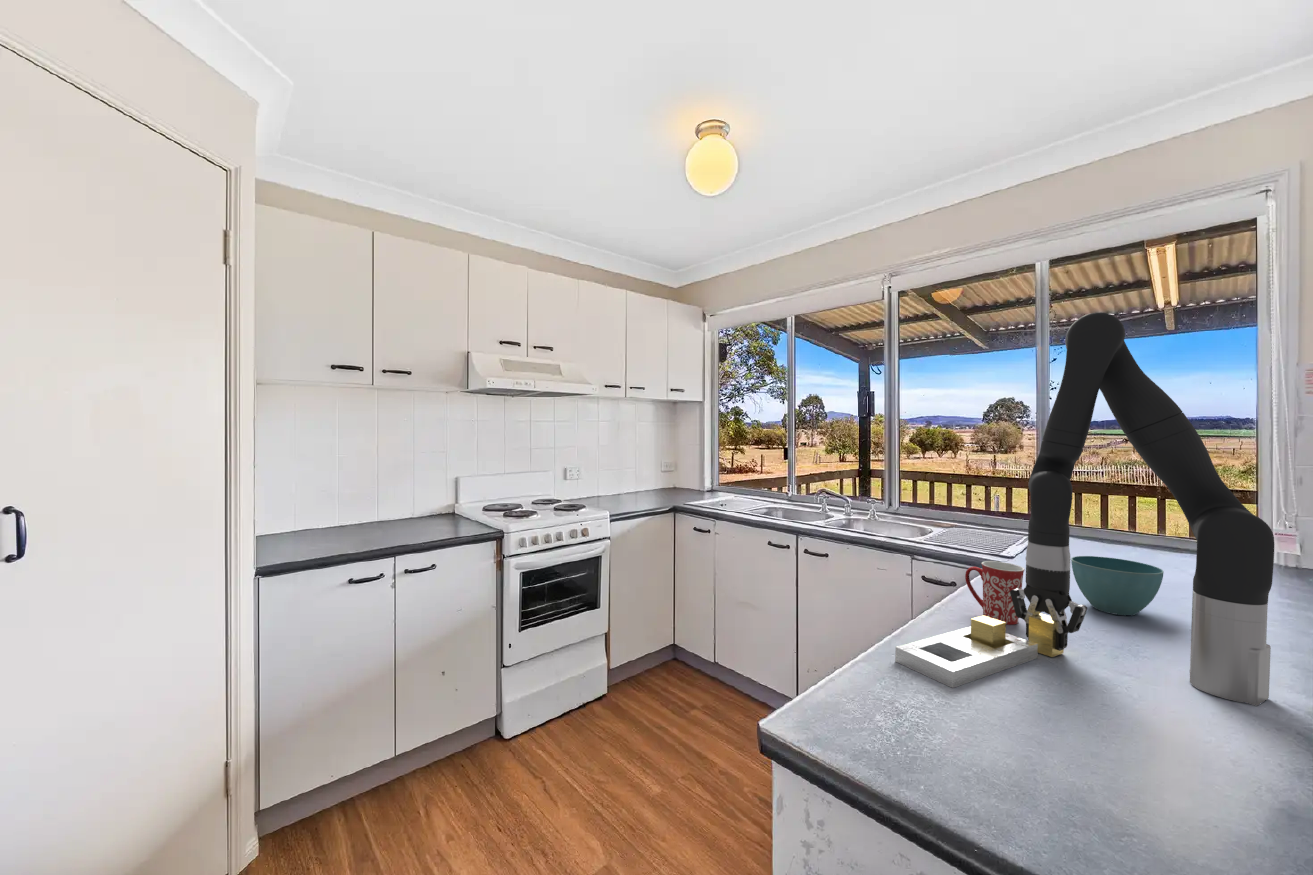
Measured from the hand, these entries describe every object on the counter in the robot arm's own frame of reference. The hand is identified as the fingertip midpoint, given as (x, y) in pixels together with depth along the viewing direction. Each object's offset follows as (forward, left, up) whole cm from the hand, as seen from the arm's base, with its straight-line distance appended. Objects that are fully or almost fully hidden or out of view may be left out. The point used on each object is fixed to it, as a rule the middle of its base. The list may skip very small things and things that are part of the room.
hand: (1045, 644), depth 112 cm
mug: (+17, -11, -2) cm, 20 cm away
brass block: (0, 0, -1) cm, 1 cm away
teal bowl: (+6, -46, -2) cm, 46 cm away
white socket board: (+5, +19, -2) cm, 20 cm away
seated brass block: (+5, +12, -2) cm, 13 cm away
